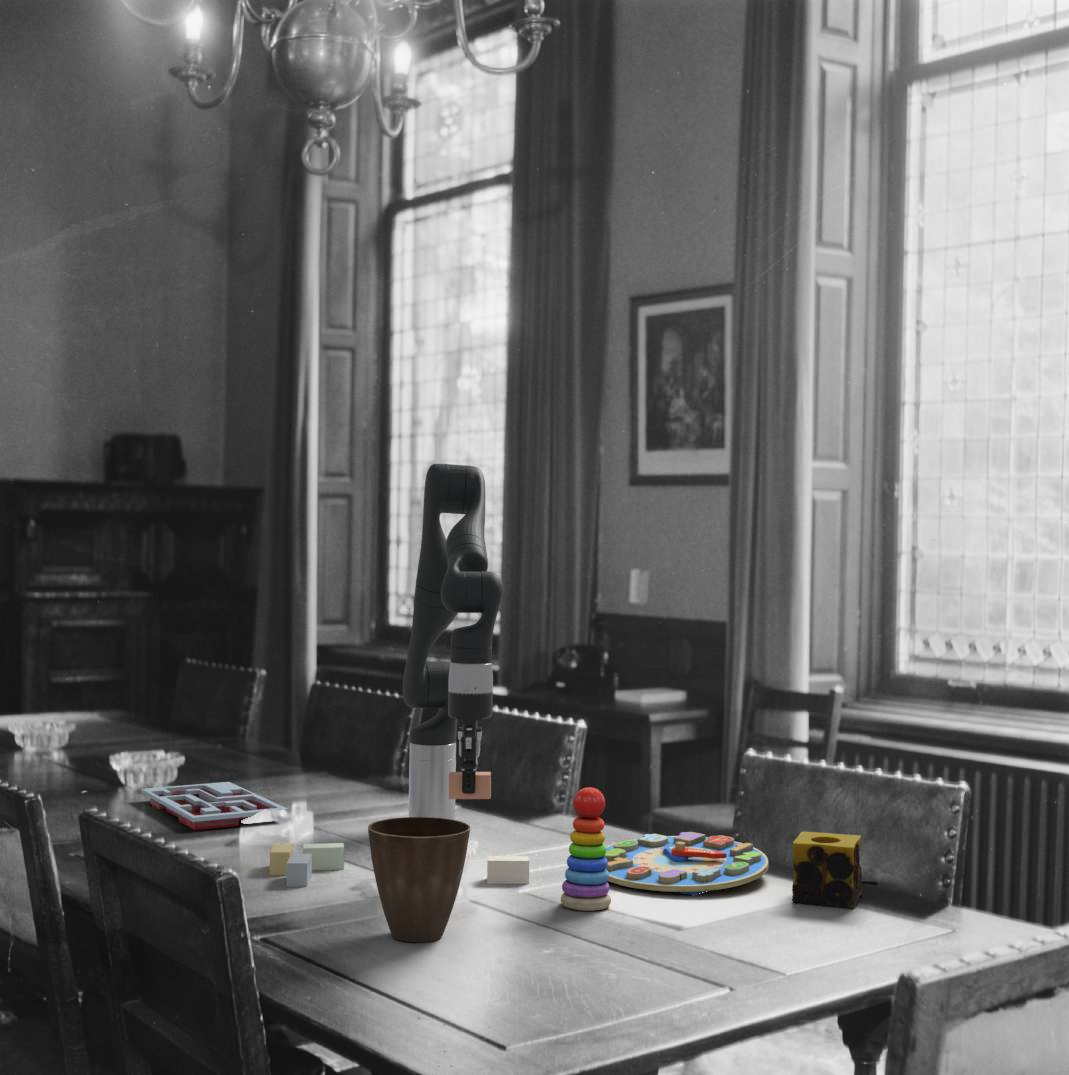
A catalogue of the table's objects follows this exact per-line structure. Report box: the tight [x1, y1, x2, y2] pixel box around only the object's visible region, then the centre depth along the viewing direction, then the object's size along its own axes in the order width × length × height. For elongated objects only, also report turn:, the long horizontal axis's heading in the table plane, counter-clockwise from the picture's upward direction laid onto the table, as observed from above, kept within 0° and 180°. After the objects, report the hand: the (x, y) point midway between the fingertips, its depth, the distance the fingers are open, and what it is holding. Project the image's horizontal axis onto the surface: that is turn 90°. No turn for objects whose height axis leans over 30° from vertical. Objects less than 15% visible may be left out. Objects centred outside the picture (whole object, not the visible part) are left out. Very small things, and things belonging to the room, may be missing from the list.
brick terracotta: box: [449, 771, 492, 800], centre depth 239 cm, size 3×7×4 cm, turn 90°
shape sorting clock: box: [604, 831, 769, 896], centre depth 246 cm, size 31×30×6 cm
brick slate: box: [285, 853, 313, 888], centre depth 238 cm, size 3×7×4 cm, turn 3°
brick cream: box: [486, 855, 530, 885], centre depth 240 cm, size 3×7×4 cm, turn 93°
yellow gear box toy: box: [791, 831, 863, 909], centre depth 231 cm, size 10×10×10 cm
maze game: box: [140, 781, 289, 831], centre depth 295 cm, size 35×20×3 cm, turn 32°
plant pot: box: [367, 816, 471, 943], centre depth 206 cm, size 15×15×16 cm
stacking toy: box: [560, 786, 612, 912], centre depth 225 cm, size 8×8×19 cm
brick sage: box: [302, 842, 345, 871], centre depth 248 cm, size 3×7×4 cm, turn 100°
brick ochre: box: [269, 842, 294, 876], centre depth 245 cm, size 3×7×4 cm, turn 5°
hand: (469, 790), depth 239 cm, fingers closed on brick terracotta, 3 cm apart
